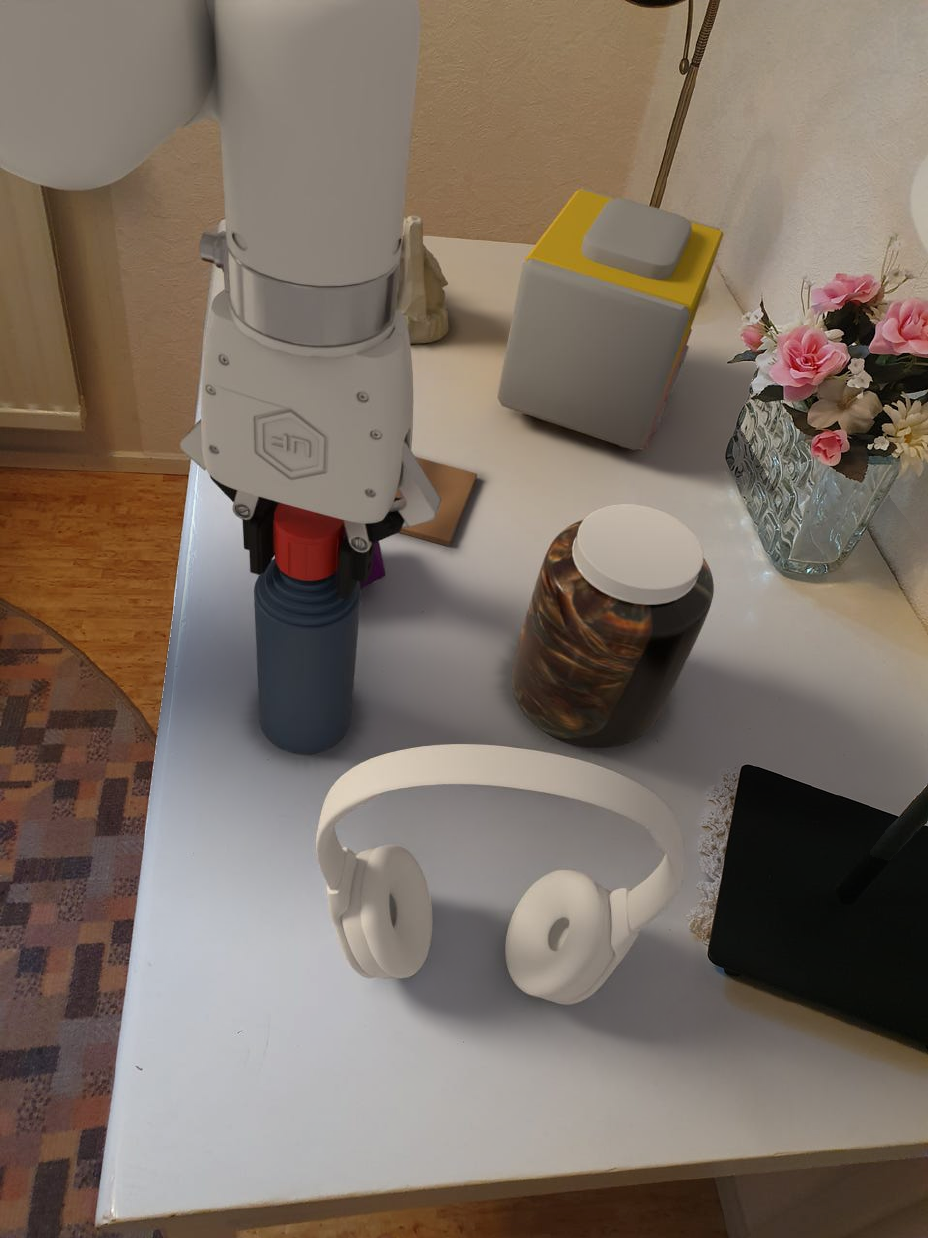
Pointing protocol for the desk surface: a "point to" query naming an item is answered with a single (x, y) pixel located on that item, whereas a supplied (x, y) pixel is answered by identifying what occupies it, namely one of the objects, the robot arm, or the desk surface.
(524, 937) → the headphones
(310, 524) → the cap
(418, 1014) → the desk surface
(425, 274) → the beige rough towered piece
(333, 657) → the water bottle
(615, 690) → the jar
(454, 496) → the coaster
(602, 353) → the alarm clock
